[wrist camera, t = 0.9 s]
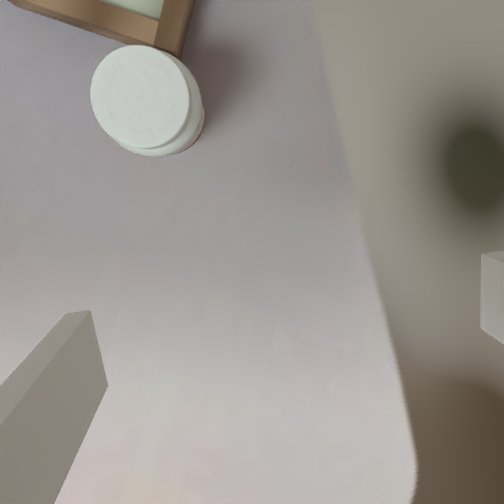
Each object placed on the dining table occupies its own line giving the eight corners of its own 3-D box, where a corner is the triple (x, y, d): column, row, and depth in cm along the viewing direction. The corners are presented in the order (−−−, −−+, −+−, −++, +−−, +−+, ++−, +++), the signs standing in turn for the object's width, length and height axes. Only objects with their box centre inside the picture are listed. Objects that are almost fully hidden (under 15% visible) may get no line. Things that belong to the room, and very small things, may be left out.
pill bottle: (116, 80, 32) (61, 44, 21) (196, 65, 32) (183, 20, 21) (137, 162, 33) (96, 168, 22) (213, 146, 33) (210, 145, 22)
